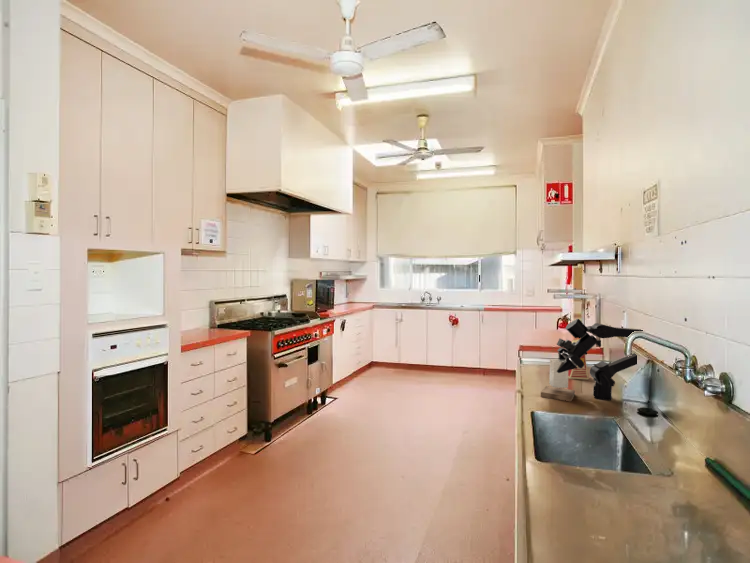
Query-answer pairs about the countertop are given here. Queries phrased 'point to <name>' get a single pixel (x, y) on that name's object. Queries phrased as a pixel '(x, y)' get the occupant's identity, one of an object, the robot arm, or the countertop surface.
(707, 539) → the countertop surface
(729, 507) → the countertop surface
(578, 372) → the milk carton
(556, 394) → the walnut block
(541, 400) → the countertop surface
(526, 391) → the countertop surface
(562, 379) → the cream tea tin
